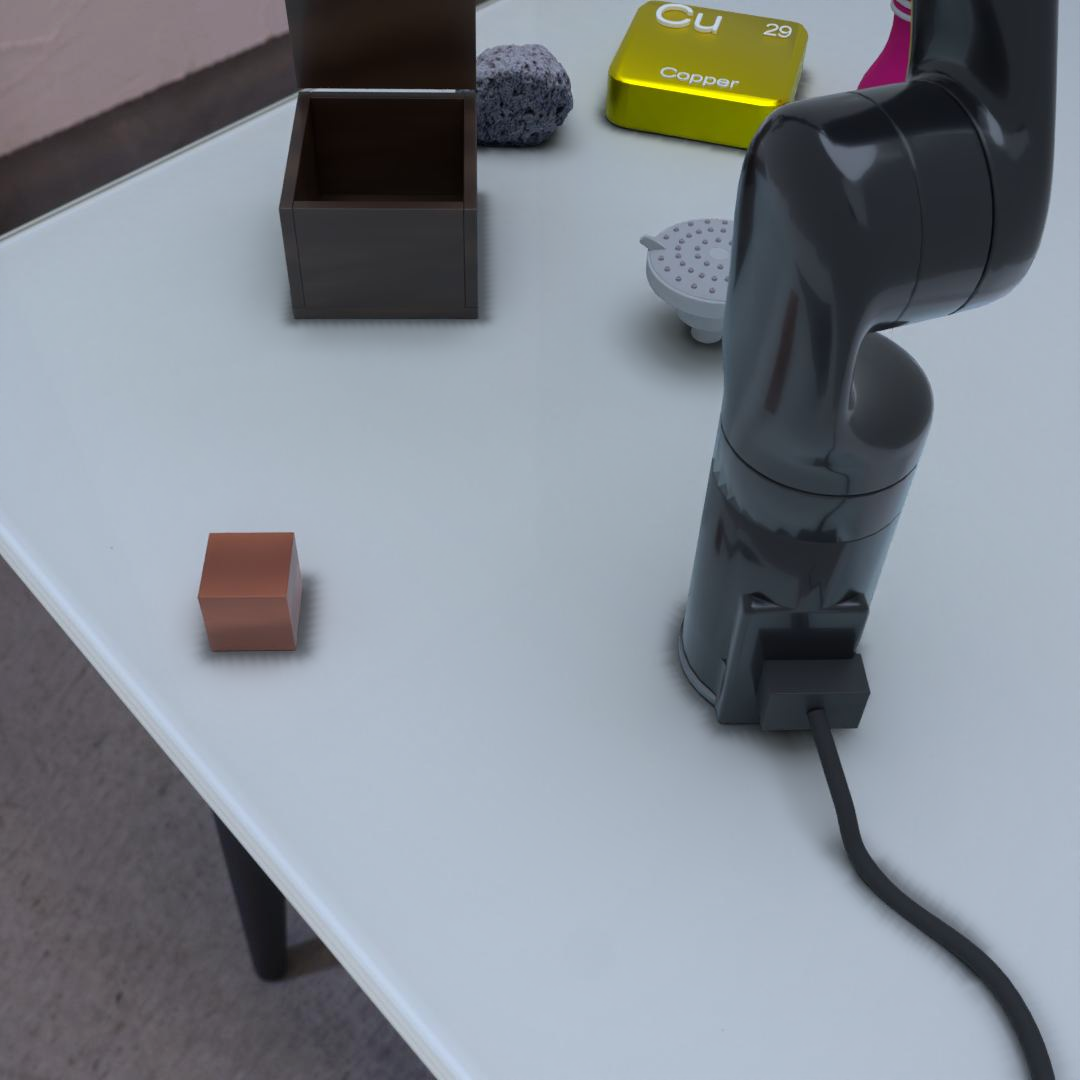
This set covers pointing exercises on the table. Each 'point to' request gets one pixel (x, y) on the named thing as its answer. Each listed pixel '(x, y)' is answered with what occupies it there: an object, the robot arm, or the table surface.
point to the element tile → (703, 72)
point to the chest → (382, 205)
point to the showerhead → (693, 272)
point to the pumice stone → (519, 95)
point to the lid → (383, 44)
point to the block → (251, 591)
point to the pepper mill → (892, 50)
